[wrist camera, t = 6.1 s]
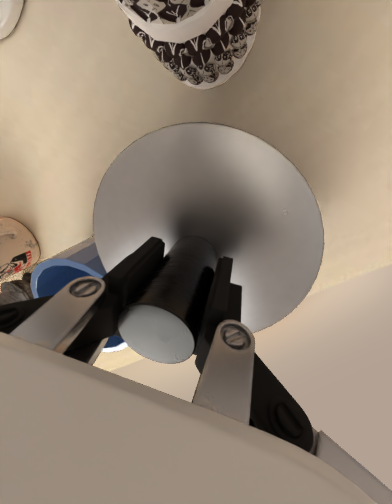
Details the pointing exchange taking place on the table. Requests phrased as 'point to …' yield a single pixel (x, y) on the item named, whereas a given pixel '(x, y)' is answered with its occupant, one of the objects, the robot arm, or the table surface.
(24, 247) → the teacup with lid
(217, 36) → the decorative candle
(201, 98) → the table surface
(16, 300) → the salt shaker
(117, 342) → the pot
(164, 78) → the table surface
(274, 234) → the lid
